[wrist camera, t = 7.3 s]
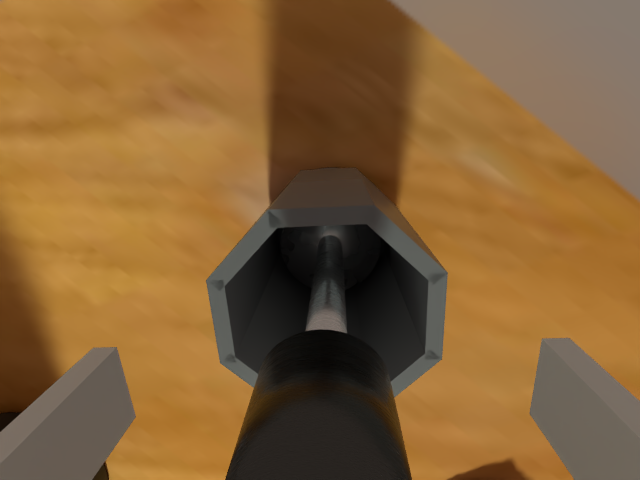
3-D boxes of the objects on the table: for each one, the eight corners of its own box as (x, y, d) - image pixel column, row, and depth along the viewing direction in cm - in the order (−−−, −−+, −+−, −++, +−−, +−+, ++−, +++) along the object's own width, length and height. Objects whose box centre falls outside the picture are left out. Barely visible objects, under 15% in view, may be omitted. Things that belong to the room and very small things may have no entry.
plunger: (286, 288, 25) (158, 705, 7) (277, 197, 23) (64, 452, 5) (379, 285, 24) (499, 719, 6) (379, 192, 22) (554, 451, 4)
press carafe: (278, 305, 29) (234, 445, 16) (265, 170, 26) (194, 212, 13) (391, 302, 29) (436, 444, 16) (392, 164, 25) (452, 201, 12)
